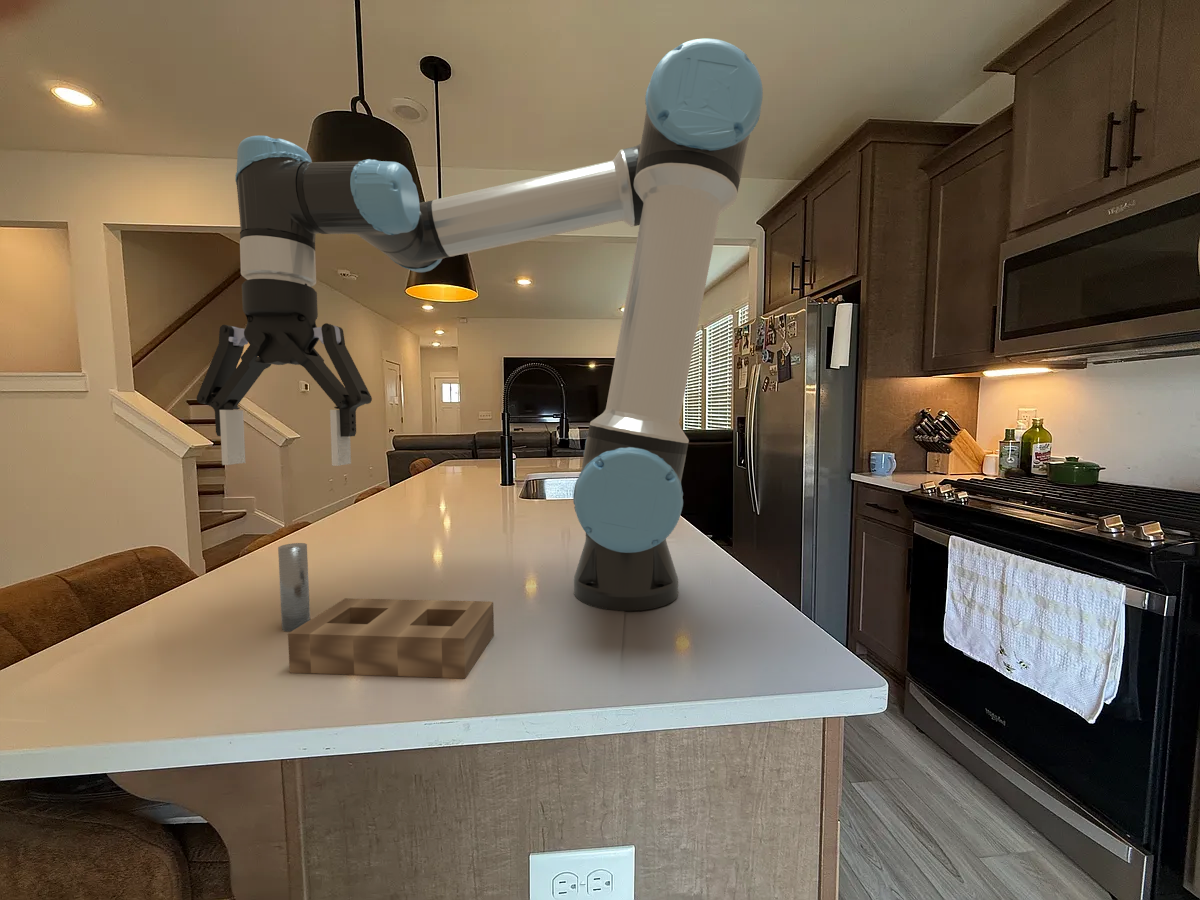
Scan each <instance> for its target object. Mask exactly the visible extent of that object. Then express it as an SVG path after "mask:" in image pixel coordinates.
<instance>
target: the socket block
mask: <svg viewBox="0 0 1200 900" xmlns="http://www.w3.org/2000/svg"><path fill="white" fill-rule="evenodd" d="M494 619H495V618H494V601H487V600H486V601H485V600H484V601H483V600H481V601H478V600H445V599H444V600H439V599H438V600H434V599H432V600H431V599H394V598H392V599H391V598H390V599H389V598H386V599H385V598H381V599H380V598H344V599H341V600H339V601H338V602H337V603H335V604H333V605H332V606H331V607H328V608H327V609H325V610H324V611H323V612H320V613H318V614H317V615H316V616H314V617H313V618H310V620H309V621H308V622H306V623H304V624H303V625H301V626H300V627H298V628H296V629H295V630H293V631H289V632H288V633H287V643H288V662H289V663H288V665H289V674H290V673H293V674H296V673H297V674H319V675H320V674H321V675H322V674H323V675H324V674H325V675H328V674H329V675H348V676H349V675H352V676H354V675H357V676H380V677H382V676H384V677H386V676H387V677H408V678H409V677H411V678H412V677H413V678H417V677H418V678H437V679H439V678H442V679H443V678H446V679H466V678H467V676H468V675H469V673H470V672H471V670H472V668H473V667H474V666H475V664H476V663H477V661H478V660H479V658H480V657H481V655H482V654H483V652H484V651H485V649H486V648H487V646H488V645H489V643H490V641H491V640H492V639H493V637H494V635H495V627H494V626H495V625H494V624H495V623H494V621H495V620H494Z"/></svg>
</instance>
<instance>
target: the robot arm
mask: <svg viewBox="0 0 1200 900" xmlns="http://www.w3.org/2000/svg"><path fill="white" fill-rule="evenodd" d="M763 90H764V89H763V83H762V78H761V76H760V73H759V70H758V67H756V65H755V64H754V63H752V61H751V60H750V58H749V57H748V55H747V54H746V52H744V51H743V50H742V49H740V48H739V47H737V46H736V45H734V44H733V43H730V42H727V41H725V40H722V39H717V38H707V37H706V38H696V39H690V40H688V41H685V42H683V43H681V44H679V45H678V46H676V47H675V48H673V49H672V50H670V51H668V52H667V53H666V54H665V55H664V56H663V57H662V58H661V59H660V61H659V62H658V63H657V65H656V67H655V68H654V70H653V72H652V75H651V76H650V80H649V83H648V86H647V88H646V91H645V100H644V101H645V106H646V107H645V108H646V111H645V117H644V123H643V129H642V134H641V135H642V136H641V142H640V143H639V144H637V145H635V146H631V147H628V148H622V149H619V151H618V152H617V154H616V155H615V157H614V158H613V159H612V160H608V161H604V162H600V163H599V162H598V163H595V164H591V165H587V166H586V165H585V166H580V167H576V168H573V169H572V168H571V169H567V170H563V171H558V172H555V173H549V174H546V175H541V176H540V175H539V176H536V177H532V178H526V179H521V180H517V181H513V182H510V183H509V182H508V183H504V184H499V185H495V186H489V187H486V188H481V189H478V190H477V189H476V190H473V191H472V190H471V191H469V192H464V193H460V194H455V195H451V196H446V197H441V198H437V199H432V200H427V201H422V202H420V198H419V193H418V189H417V185H416V184H415V182H414V180H413V177H412V174H411V172H410V171H409V170H408V168H407V167H406V166H405V165H403V164H401V163H399V162H397V161H387V160H385V161H384V160H383V161H381V160H377V159H371V158H368V159H363V160H345V161H344V160H343V161H338V160H337V161H317V162H316V161H314V162H313V160H312V158H311V156H310V154H308V151H306V150H305V149H304V148H302V147H301V146H299V145H297V144H295V143H294V142H292V141H289V140H286V139H283V138H280V137H279V138H273V137H270V136H268V135H251V136H248V137H245V138H244V139H243V140H241V141H240V142H239V144H238V146H237V155H236V156H237V157H236V172H235V177H234V178H235V184H236V189H237V191H236V192H237V202H238V203H237V204H238V210H239V211H238V212H239V226H240V232H239V235H240V236H239V258H240V275H241V277H243V278H244V279H246V280H245V281H243V283H242V284H241V297H242V298H241V301H242V302H241V303H242V311H243V313H244V315H245V317H246V320H247V322H246V325H245V328H241V327H237V326H232V325H227V324H222V325H221V326H219V333H218V345H217V346H216V349H215V351H214V354H213V357H212V359H211V361H210V363H209V366H208V369H207V371H206V373H205V375H204V379H203V381H202V383H201V385H200V388H199V391H198V393H197V395H196V401H197V403H198V404H202V405H207V406H209V407H211V408H212V409H213V411H214V421H215V434H216V436H217V437H220V443H221V444H220V445H221V446H220V447H221V465H222V466H231V465H237V464H238V465H239V464H247V463H246V446H245V445H246V443H245V441H246V440H245V425H244V423H245V421H244V419H245V418H244V410H243V409H241V406H239V404H240V403H241V401H242V400H243V399H244V397H245V396H246V395H247V393H248V392H249V391H250V389H252V387H253V385H254V384H255V383H256V381H257V380H258V379H259V377H260V376H261V375H262V373H264V371H265V370H267V369H268V368H270V367H271V365H274V366H275V365H276V366H281V365H282V366H284V365H287V364H288V365H293V366H294V365H295V366H296V365H297V366H302V368H304V369H305V371H306V372H307V373H308V374H309V375H310V376H311V377H312V379H313V380H314V381H315V382H316V384H318V386H319V387H320V388H321V389H322V391H324V393H325V394H326V395H327V396H328V398H329V399H330V400H331V401H332V403H334V405H335V406H333V407H334V409H329V417H330V418H329V419H330V420H329V421H330V423H329V424H330V446H331V448H330V449H331V450H330V451H331V466H333V467H334V466H335V467H336V466H337V467H338V466H344V465H351V464H352V458H351V457H352V456H351V455H352V454H351V453H352V452H351V451H352V450H351V447H352V446H351V437H356V434H357V414H356V413H357V409H358V408H359V407H361V406H364V405H369V404H371V402H373V401H372V400H373V398H372V395H371V394H370V391H369V389H368V387H367V385H366V383H365V382H364V379H363V378H362V375H361V374H360V371H359V370H358V367H357V366H356V364H355V362H354V360H353V358H352V355H351V354H350V352H349V349H348V348H347V346H346V341H345V340H346V339H345V334H344V329H343V328H342V327H340V326H337V325H334V324H331V323H327V322H326V323H323V324H322V325H321V326H317V323H316V320H317V319H318V317H319V315H318V314H319V312H318V293H317V291H316V290H315V289H314V288H313V287H314V286H315V285H316V284H317V267H316V234H317V235H318V234H321V235H356V236H359V238H361V239H362V240H364V241H365V242H366V243H368V244H370V245H371V246H372V247H374V248H375V249H377V250H378V251H380V252H381V253H383V254H384V255H386V256H387V257H388V258H389V259H390V260H391V261H392V262H394V263H395V264H397V265H398V266H400V267H402V268H405V269H407V270H410V271H412V272H416V273H426V272H430V271H432V270H433V269H435V268H436V267H437V266H439V264H441V262H442V260H443V259H445V258H451V257H455V256H459V255H465V254H470V253H475V252H480V251H484V250H488V249H493V248H494V249H495V248H499V247H503V246H509V245H513V244H517V243H522V242H528V241H531V240H536V239H541V238H547V237H552V236H557V235H560V234H565V233H570V232H576V231H579V230H585V229H590V228H594V227H599V226H604V225H608V224H609V225H610V224H613V223H618V222H624V223H625V224H626V225H628V226H630V227H636V226H638V231H637V236H636V237H637V238H636V243H635V249H634V253H633V261H632V265H631V270H630V276H629V281H628V286H627V291H626V292H627V293H626V296H625V302H624V303H625V304H624V309H623V313H622V314H623V315H622V319H621V325H620V329H619V330H620V331H619V334H618V335H619V336H618V341H617V345H616V352H615V357H614V362H613V368H612V373H611V378H610V383H609V390H608V395H607V402H606V406H605V409H604V410H603V412H602V413H601V414H600V415H597V417H595V418H594V419H592V420H591V421H590V422H589V426H588V432H587V437H586V439H585V443H584V444H585V445H584V450H583V459H582V464H581V470H580V473H579V474H578V478H577V479H576V482H575V484H574V489H573V495H572V496H573V499H572V500H573V501H572V502H573V505H574V511H575V515H576V518H577V519H578V520H577V521H578V522H579V524H580V526H581V528H582V530H584V532H585V540H584V543H583V544H584V545H583V548H582V551H581V555H580V558H579V561H578V564H577V567H576V570H575V574H574V579H573V595H574V596H575V598H576V599H577V600H578V601H580V602H581V603H583V604H586V605H588V606H590V607H594V608H597V609H603V610H608V611H609V610H611V611H619V612H621V611H623V612H625V611H626V612H627V611H629V612H631V611H634V612H635V611H646V610H652V609H657V608H661V607H664V606H667V605H669V604H671V603H673V602H674V601H675V600H676V599H678V596H679V578H678V574H677V571H676V568H675V565H674V561H673V558H672V556H671V555H672V554H671V552H670V550H669V546H668V543H667V538H668V537H669V536H670V535H671V534H672V533H673V531H674V530H675V528H676V527H677V525H678V523H679V520H680V518H681V514H682V511H683V507H684V499H683V496H684V492H683V487H682V479H683V474H684V467H685V463H686V459H687V458H686V457H687V452H688V447H689V442H690V440H689V438H688V436H687V435H686V434H685V432H684V430H683V429H682V427H681V425H680V418H681V414H682V408H683V404H684V403H683V402H684V398H685V392H686V387H687V383H688V377H689V372H690V367H691V362H692V357H693V356H692V355H693V351H694V345H695V342H696V336H697V330H698V326H699V321H700V314H701V309H702V305H703V301H704V296H705V292H706V291H705V290H706V284H707V280H708V275H709V270H710V265H711V258H712V254H713V249H714V243H715V238H716V233H717V229H718V228H717V227H718V223H719V218H720V215H721V214H722V213H724V212H726V210H728V209H729V208H731V207H732V206H733V205H734V204H735V203H736V200H737V198H738V192H739V186H740V182H741V177H742V173H743V169H744V168H743V166H744V162H745V157H746V153H747V152H746V151H747V147H748V143H749V141H750V136H751V133H753V131H754V129H755V127H756V126H757V124H758V122H759V119H760V116H761V112H762V111H761V109H762V104H763V96H764V93H763ZM319 341H320V343H321V344H323V345H324V348H325V351H326V353H327V354H328V355H327V356H328V357H329V359H330V360H331V363H332V365H333V367H334V368H335V370H336V372H337V375H338V377H339V378H340V379H338V377H337V376H336V375H335V374H334V373H333V372H332V370H331V369H330V368H329V367H328V365H327V363H325V359H324V358H323V357H322V356H321V355H320V354H319V352H318V351H317V350H316V348H315V347H316V345H317V343H318V342H319ZM248 344H249V345H248ZM246 345H248V347H247V348H246V350H245V351H244V349H245V346H246ZM240 360H241V361H240ZM340 380H341V381H340Z"/></svg>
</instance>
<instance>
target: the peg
mask: <svg viewBox="0 0 1200 900" xmlns="http://www.w3.org/2000/svg"><path fill="white" fill-rule="evenodd" d="M277 550H278V573H279V576H278V577H279V595H280V613H281V615H280V616H281V618H280V619H281V631H284V632H291V631H293V630H295V629H296V628H298V627H300V626H301V625H303V624H304V623H306V622H308V621H309V620H311V610H310V609H311V607H310V589H309V588H310V586H309V585H310V584H309V582H310V581H309V567H308V566H309V562H308V558H309V557H308V544H307V543H304V542H294V543H288V544H282V545H280V546H278V547H277Z"/></svg>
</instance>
